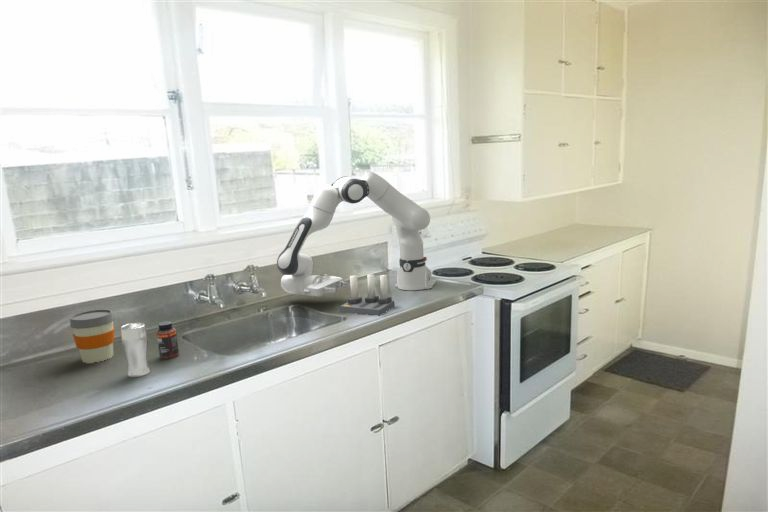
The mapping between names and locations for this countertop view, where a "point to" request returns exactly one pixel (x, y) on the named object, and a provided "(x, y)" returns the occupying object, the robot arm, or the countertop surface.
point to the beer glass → (135, 348)
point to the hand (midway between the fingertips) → (341, 287)
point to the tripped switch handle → (354, 291)
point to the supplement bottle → (167, 340)
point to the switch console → (372, 299)
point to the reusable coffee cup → (93, 334)
